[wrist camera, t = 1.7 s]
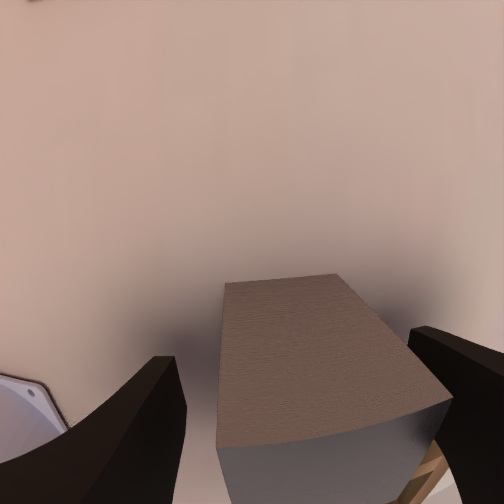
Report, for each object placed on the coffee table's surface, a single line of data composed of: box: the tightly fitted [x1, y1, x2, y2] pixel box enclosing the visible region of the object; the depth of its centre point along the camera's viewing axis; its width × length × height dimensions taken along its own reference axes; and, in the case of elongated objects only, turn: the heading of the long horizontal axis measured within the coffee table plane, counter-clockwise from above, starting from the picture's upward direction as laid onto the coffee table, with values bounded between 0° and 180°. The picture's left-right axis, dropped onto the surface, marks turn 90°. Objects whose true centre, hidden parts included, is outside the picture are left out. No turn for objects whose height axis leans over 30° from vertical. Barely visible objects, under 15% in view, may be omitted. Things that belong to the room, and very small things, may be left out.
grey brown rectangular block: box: [216, 274, 453, 504], centre depth 7 cm, size 4×4×7 cm
